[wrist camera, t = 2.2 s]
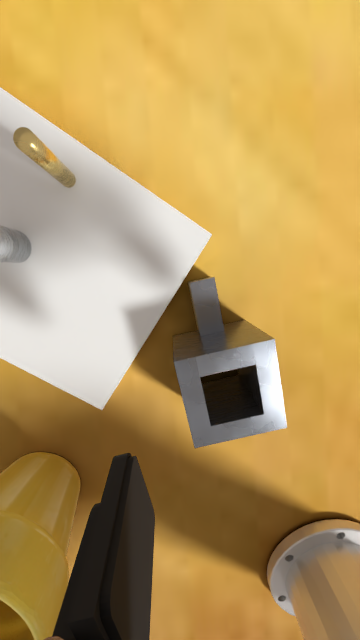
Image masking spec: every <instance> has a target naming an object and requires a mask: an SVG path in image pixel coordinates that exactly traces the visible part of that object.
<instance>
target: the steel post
mask: <svg viewBox="0 0 360 640" xmlns="http://www.w3.org/2000/svg"><path fill="white" fill-rule="evenodd" d="M31 250H32V247H31V243H30V240H29V239H28V237H27V236H26V235H25V234H24V233H22V232H21V231H18V230H15V229H11V228H8V227H4V226H1V225H0V262H9V263H21V262H24V261H26V260H27V259H28V258H29V256H30V254H31Z"/></svg>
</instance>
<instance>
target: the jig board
mask: <svg viewBox="0 0 360 640" xmlns="http://www.w3.org/2000/svg"><path fill="white" fill-rule="evenodd" d="M20 127H26V128H28V129H30V130H31V131H32V132H33V133H34V134H35V135H36V136H37V137H38V138H39V139H40V140H41V141H42V142H43V143H44V144H45V145H46V146H47V147H48V148H49V149H50V150H51V151H52V152H53V153H54V154H55V156H56V157H57V158H58V159H59V160H60V161H61V162H62V163H63V164H64V165H65V166H66V167H67V168H68V169H69V170H70V171H71V172H72V173H73V174H74V175H75V178H76V182H75V185H74V186H73V187H70V188H68V187H65V186H63V185H62V184H61V183H60V182H59V181H57V180H56V179H55V178H54V177H52V176H51V175H50V174H49V173H48V172H46V171H45V170H44V169H43V168H41V167H40V166H39V165H38V164H37V163H35V162H34V161H33V160H32V159H30V158H29V157H28V156H27V155H25V154H24V153H23V152H22V151H21V150H19V149H18V148H17V147H16V145H15V143H14V140H13V135H14V132H15V130H16V129H18V128H20ZM0 225H1V226H4V227H8V228H11V229H15V230H18V231H21V232H22V233H24V234H25V235H26V236H27V237H28V239H29V240H30V243H31V247H32V250H31V254H30V256H29V258H28V259H27V260H26V261H24V262H21V263H9V262H0V358H1V359H3V360H5V361H7V362H9V363H11V364H13V365H15V366H17V367H19V368H21V369H23V370H25V371H27V372H29V373H31V374H33V375H34V376H36V377H38V378H40V379H42V380H44V381H46V382H48V383H50V384H52V385H54V386H56V387H58V388H60V389H62V390H64V391H66V392H68V393H69V394H71V395H73V396H75V397H77V398H79V399H81V400H83V401H85V402H87V403H89V404H91V405H93V406H95V407H97V408H99V409H101V410H102V409H103V408H104V406H105V405H106V403H107V401H108V400H109V398H110V397H111V395H112V393H113V392H114V390H115V389H116V387H117V386H118V384H119V382H120V381H121V379H122V378H123V376H124V374H125V373H126V371H127V370H128V368H129V366H130V365H131V363H132V362H133V360H134V358H135V357H136V355H137V354H138V352H139V350H140V349H141V347H142V346H143V344H144V342H145V341H146V339H147V338H148V336H149V334H150V333H151V331H152V330H153V328H154V326H155V325H156V323H157V322H158V320H159V319H160V317H161V315H162V314H163V312H164V311H165V309H166V307H167V306H168V304H169V303H170V301H171V299H172V298H173V296H174V295H175V293H176V291H177V290H178V288H179V287H180V285H181V283H182V282H183V280H184V279H185V277H186V275H187V274H188V272H189V271H190V269H191V267H192V266H193V264H194V263H195V261H196V259H197V258H198V256H199V255H200V253H201V251H202V250H203V248H204V247H205V245H206V244H207V242H208V240H209V239H210V237H211V236H212V234H211V233H209V232H208V231H206V230H205V229H204V228H202V227H201V226H199V225H198V224H196V223H195V222H193V221H192V220H191V219H189V218H188V217H186V216H185V215H183V214H182V213H180V212H179V211H178V210H176V209H175V208H173V207H172V206H170V205H169V204H168V203H166V202H165V201H163V200H162V199H160V198H159V197H157V196H156V195H155V194H153V193H152V192H150V191H149V190H147V189H146V188H144V187H143V186H142V185H140V184H139V183H137V182H136V181H134V180H133V179H132V178H130V177H129V176H127V175H126V174H124V173H123V172H121V171H120V170H119V169H117V168H116V167H114V166H113V165H111V164H110V163H108V162H107V161H106V160H104V159H103V158H101V157H100V156H98V155H97V154H95V153H94V152H93V151H91V150H90V149H88V148H87V147H85V146H84V145H83V144H81V143H80V142H78V141H77V140H75V139H74V138H72V137H71V136H70V135H68V134H67V133H65V132H64V131H62V130H61V129H59V128H58V127H57V126H55V125H54V124H52V123H51V122H49V121H48V120H47V119H45V118H44V117H42V116H41V115H39V114H38V113H36V112H35V111H34V110H32V109H31V108H29V107H28V106H26V105H25V104H23V103H22V102H21V101H19V100H18V99H16V98H15V97H13V96H12V95H11V94H9V93H8V92H6V91H5V90H3V89H2V88H0Z"/></svg>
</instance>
